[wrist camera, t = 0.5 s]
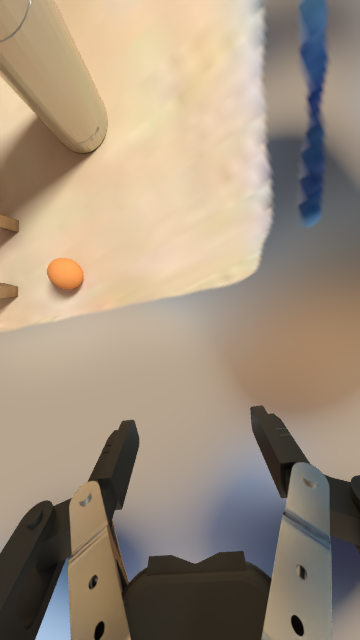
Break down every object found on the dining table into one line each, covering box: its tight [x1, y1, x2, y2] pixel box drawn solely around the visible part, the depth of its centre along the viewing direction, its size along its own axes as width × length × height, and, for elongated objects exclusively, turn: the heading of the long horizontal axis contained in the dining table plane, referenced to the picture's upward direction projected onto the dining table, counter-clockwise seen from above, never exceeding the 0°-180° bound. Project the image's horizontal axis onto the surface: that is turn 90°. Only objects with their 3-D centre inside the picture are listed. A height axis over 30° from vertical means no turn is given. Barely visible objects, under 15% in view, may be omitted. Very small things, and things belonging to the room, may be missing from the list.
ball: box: [47, 258, 83, 289], centre depth 32 cm, size 6×6×6 cm
